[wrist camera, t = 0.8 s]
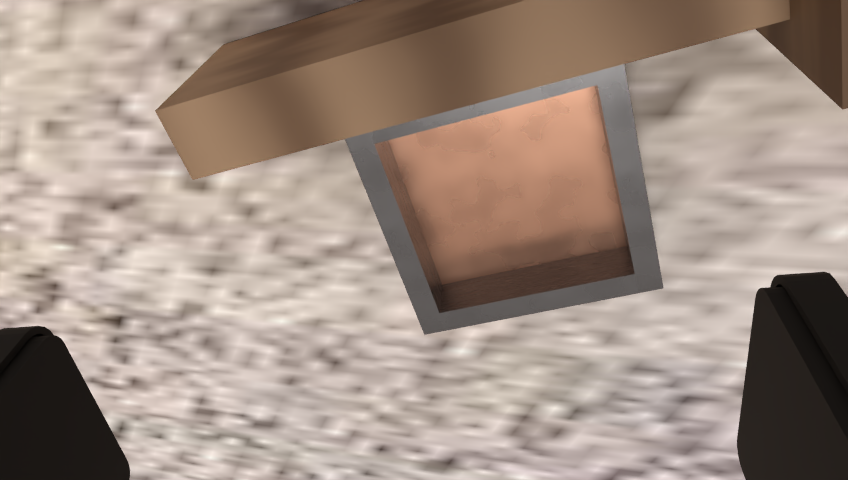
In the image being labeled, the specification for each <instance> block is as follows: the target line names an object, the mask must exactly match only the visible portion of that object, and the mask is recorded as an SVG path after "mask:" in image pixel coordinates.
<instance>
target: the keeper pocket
mask: <svg viewBox="0 0 848 480" xmlns="http://www.w3.org/2000/svg"><path fill="white" fill-rule="evenodd" d="M345 140H346V143H347V145H348V148H349V150H350V153H351V155H352V157H353V160H354V162H355V165H356V167H357V170H358V172H359V175H360V177H361V180H362V182H363V185H364V187H365V189H366V192H367V194H368V197H369V199H370V202H371V204H372V207H373V209H374V212H375V214H376V216H377V219H378V221H379V224H380V226H381V229H382V231H383V234H384V236H385V239H386V241H387V244H388V246H389V248H390V251H391V253H392V256H393V258H394V261H395V263H396V266H397V268H398V271H399V273H400V276H401V278H402V280H403V283H404V285H405V288H406V290H407V293H408V295H409V298H410V300H411V303H412V305H413V307H414V310H415V312H416V315H417V317H418V320H419V322H420V325H421V327H422V330H423V332H424V335H425V334H430V333H435V332H441V331H446V330H451V329H456V328H461V327H466V326H471V325H477V324H482V323H487V322H492V321H497V320H502V319H508V318H513V317H518V316H523V315H528V314H533V313H538V312H544V311H549V310H554V309H559V308H564V307H569V306H574V305H580V304H585V303H590V302H595V301H600V300H605V299H610V298H616V297H621V296H626V295H631V294H636V293H641V292H646V291H652V290H657V289H662V288H663V283H662V277H661V272H660V266H659V260H658V254H657V249H656V243H655V237H654V232H653V226H652V220H651V214H650V209H649V203H648V197H647V192H646V186H645V180H644V174H643V169H642V163H641V157H640V151H639V146H638V140H637V134H636V129H635V123H634V117H633V111H632V106H631V100H630V94H629V89H628V83H627V77H626V71H625V66H624V64H622V65H618V66H614V67H611V68H607V69H603V70H600V71H596V72H592V73H588V74H585V75H581V76H577V77H574V78H570V79H566V80H562V81H559V82H555V83H551V84H547V85H544V86H540V87H536V88H533V89H529V90H525V91H521V92H518V93H514V94H510V95H507V96H503V97H499V98H495V99H492V100H488V101H484V102H480V103H477V104H473V105H469V106H466V107H462V108H458V109H454V110H451V111H447V112H443V113H440V114H436V115H432V116H428V117H425V118H421V119H417V120H413V121H410V122H406V123H402V124H399V125H395V126H391V127H387V128H384V129H380V130H376V131H373V132H369V133H365V134H361V135H358V136H354V137H350V138H346V139H345Z"/></svg>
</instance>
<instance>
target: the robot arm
mask: <svg viewBox="0 0 848 480" xmlns="http://www.w3.org/2000/svg"><path fill="white" fill-rule="evenodd" d="M737 448H738V456H739V461H740V465H741V468H742V471H743V473H744V476H745V479H746V480H848V297H847V296H846V294H845V293H844V291H843V290H842V289H841V287H840V286H839V284H838V283H837V281H836V280H835V279H834V278H833V277H832V275H831V274H830V273H827V272H816V273H801V274H787V275H777V276H775V277H774V279H773V281H772V283H771V287H770V288H760V289H759V290H758V291H757V294H756V298H755V306H754V313H753V321H752V329H751V336H750V344H749V352H748V360H747V367H746V375H745V383H744V390H743V398H742V406H741V413H740V421H739V429H738V436H737ZM129 478H130V468H129V464H128V461H127V459H126V457H125V455H124V453H123V451H122V450H121V448H120V446H119V444H118V442H117V440H116V438H115V437H114V435H113V433H112V431H111V429H110V427H109V425H108V424H107V422H106V420H105V418H104V416H103V414H102V412H101V411H100V409H99V407H98V405H97V403H96V401H95V399H94V397H93V396H92V394H91V392H90V390H89V388H88V386H87V384H86V383H85V381H84V379H83V377H82V375H81V373H80V371H79V370H78V368H77V366H76V364H75V362H74V360H73V358H72V357H71V355H70V353H69V351H68V349H67V347H66V345H65V344H64V342H63V341H62V339H61V338H59V337H58V336H54V335H53V334H52V332H51V331H50V330H49V329H47V328H45V327H41V326H32V327H18V328H4V329H1V330H0V480H129Z"/></svg>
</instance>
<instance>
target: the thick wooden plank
mask: <svg viewBox="0 0 848 480" xmlns="http://www.w3.org/2000/svg"><path fill="white" fill-rule="evenodd" d="M752 29H756V30H757V31H758V32H759V33H760V34H762V35H763V36H764V37H765V38H766V39H767V40H768V41H769V42H770V43H771V44H772V45H773V46H775V47H776V48H777V49H778V50H779V51H780V52H781V53H782V54H783V55H784V56H785V57H786V58H788V59H789V60H790V61H791V62H792V63H793V64H794V65H795V66H796V67H797V68H798V69H799V70H801V71H802V72H803V73H804V74H805V75H806V76H807V77H808V78H809V79H810V80H811V81H812V82H814V83H815V84H816V85H817V86H818V87H819V88H820V89H821V90H822V91H823V92H824V93H825V94H826V95H828V96H829V97H830V98H831V99H832V100H833V101H834V102H835V103H836V104H837V105H838V106H839V107H841V108H842V109H846V108H848V0H363V1H360V2H357V3H354V4H351V5H347V6H344V7H341V8H338V9H335V10H332V11H328V12H325V13H322V14H319V15H316V16H313V17H309V18H306V19H303V20H300V21H297V22H293V23H290V24H287V25H284V26H281V27H278V28H274V29H271V30H268V31H265V32H262V33H259V34H255V35H252V36H249V37H246V38H243V39H240V40H236V41H233V42H230V43H227V44H224V45H223V46H221V47H220V48H219V49H218V50H217V51H216V52H215V53H214V54H213V55H212V56H211V57H210V58H209V59H208V60H207V61H206V62H205V63H204V64H203V65H202V66H201V67H200V68H199V69H198V70H197V71H196V72H195V73H194V74H193V75H192V76H191V77H190V78H188V79H187V80H186V81H185V82H184V83H183V84H182V85H181V86H180V87H179V88H178V89H177V90H176V91H175V92H174V93H173V94H172V95H171V96H170V97H169V98H168V99H167V100H166V101H165V102H164V103H163V104H162V105H161V106H160V107H159V108H158V109H156V110H155V111H156V113H157V115H158V117H159V119H160V121H161V122H162V124H163V126H164V128H165V130H166V132H167V133H168V135H169V137H170V139H171V141H172V143H173V145H174V146H175V148H176V150H177V152H178V154H179V156H180V157H181V159H182V161H183V163H184V165H185V167H186V168H187V170H188V172H189V174H190V176H191V178H192V179H193V180H194V179H198V178H201V177H205V176H209V175H212V174H216V173H220V172H224V171H227V170H231V169H235V168H238V167H242V166H246V165H250V164H253V163H257V162H261V161H265V160H268V159H272V158H276V157H279V156H283V155H287V154H291V153H294V152H298V151H302V150H305V149H309V148H313V147H317V146H320V145H324V144H328V143H332V142H335V141H339V140H343V139H346V138H350V137H354V136H358V135H361V134H365V133H369V132H373V131H376V130H380V129H384V128H387V127H391V126H395V125H399V124H402V123H406V122H410V121H413V120H417V119H421V118H425V117H428V116H432V115H436V114H440V113H443V112H447V111H451V110H454V109H458V108H462V107H466V106H469V105H473V104H477V103H480V102H484V101H488V100H492V99H495V98H499V97H503V96H507V95H510V94H514V93H518V92H521V91H525V90H529V89H533V88H536V87H540V86H544V85H547V84H551V83H555V82H559V81H562V80H566V79H570V78H574V77H577V76H581V75H585V74H588V73H592V72H596V71H600V70H603V69H607V68H611V67H614V66H618V65H622V64H626V63H629V62H633V61H637V60H641V59H644V58H648V57H652V56H655V55H659V54H663V53H667V52H670V51H674V50H678V49H681V48H685V47H689V46H693V45H696V44H700V43H704V42H708V41H711V40H715V39H719V38H722V37H726V36H730V35H734V34H737V33H741V32H745V31H748V30H752Z"/></svg>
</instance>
